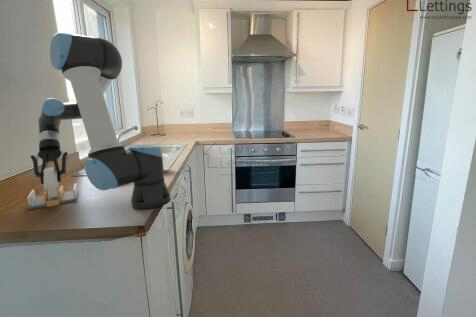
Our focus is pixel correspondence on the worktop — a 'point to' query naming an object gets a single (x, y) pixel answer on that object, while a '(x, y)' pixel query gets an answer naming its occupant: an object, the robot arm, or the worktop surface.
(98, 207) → the worktop surface
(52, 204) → the rack
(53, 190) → the panel
